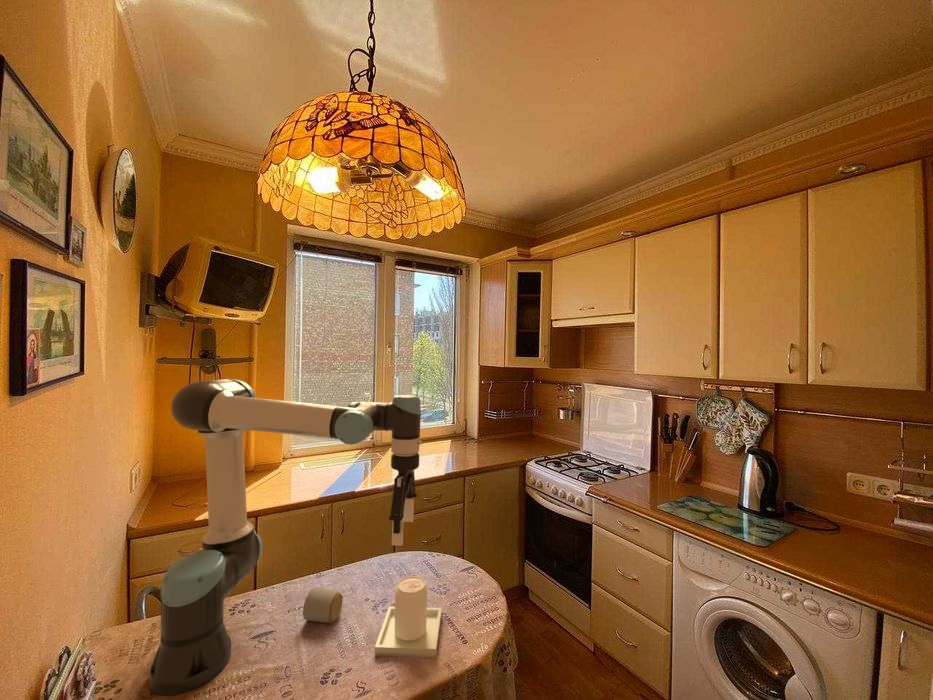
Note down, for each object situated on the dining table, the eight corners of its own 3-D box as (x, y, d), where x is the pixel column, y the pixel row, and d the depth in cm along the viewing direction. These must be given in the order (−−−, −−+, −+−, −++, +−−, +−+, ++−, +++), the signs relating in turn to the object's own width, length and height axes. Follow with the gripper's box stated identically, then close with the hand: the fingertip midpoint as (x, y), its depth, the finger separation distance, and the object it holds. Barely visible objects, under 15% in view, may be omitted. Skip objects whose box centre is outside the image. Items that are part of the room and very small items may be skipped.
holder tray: (374, 655, 90) (374, 647, 90) (388, 613, 104) (389, 606, 104) (435, 657, 89) (435, 648, 89) (441, 615, 104) (441, 608, 104)
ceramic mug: (330, 630, 98) (331, 599, 98) (301, 626, 99) (302, 596, 99) (349, 604, 108) (349, 577, 108) (322, 601, 109) (323, 574, 110)
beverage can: (390, 626, 98) (391, 579, 99) (420, 617, 102) (421, 572, 102) (399, 647, 91) (400, 597, 92) (430, 636, 95) (431, 588, 95)
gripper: (409, 466, 89) (407, 557, 88) (426, 443, 114) (424, 513, 113) (378, 465, 89) (375, 555, 89) (402, 442, 114) (400, 512, 114)
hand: (403, 532), depth 101 cm, fingers open, 13 cm apart
